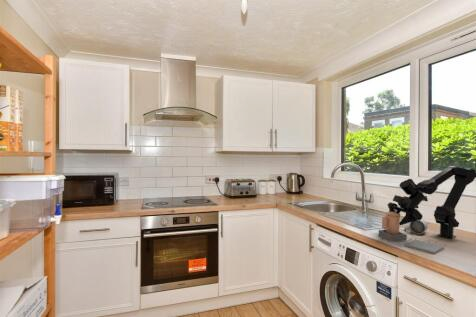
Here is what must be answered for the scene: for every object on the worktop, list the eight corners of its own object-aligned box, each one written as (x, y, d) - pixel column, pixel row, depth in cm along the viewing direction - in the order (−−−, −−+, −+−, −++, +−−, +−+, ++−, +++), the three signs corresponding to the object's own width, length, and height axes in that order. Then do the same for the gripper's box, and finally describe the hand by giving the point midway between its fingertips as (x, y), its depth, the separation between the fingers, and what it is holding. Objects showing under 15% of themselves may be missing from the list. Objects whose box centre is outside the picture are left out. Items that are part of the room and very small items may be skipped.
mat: (414, 241, 131) (415, 239, 131) (444, 248, 122) (444, 246, 122) (404, 246, 125) (404, 243, 124) (434, 254, 115) (434, 251, 115)
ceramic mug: (428, 232, 147) (428, 218, 147) (425, 235, 142) (425, 221, 142) (406, 228, 155) (406, 215, 155) (402, 231, 149) (402, 218, 149)
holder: (393, 235, 142) (394, 229, 141) (406, 240, 133) (406, 234, 133) (378, 235, 140) (378, 229, 140) (390, 241, 131) (390, 235, 131)
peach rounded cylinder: (393, 235, 140) (394, 211, 140) (402, 239, 134) (403, 214, 133) (378, 236, 139) (379, 211, 139) (387, 240, 133) (388, 214, 132)
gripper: (390, 187, 146) (372, 207, 145) (418, 192, 127) (396, 215, 126) (403, 201, 147) (384, 221, 146) (432, 209, 129) (410, 231, 127)
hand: (393, 222), depth 136 cm, fingers open, 9 cm apart
